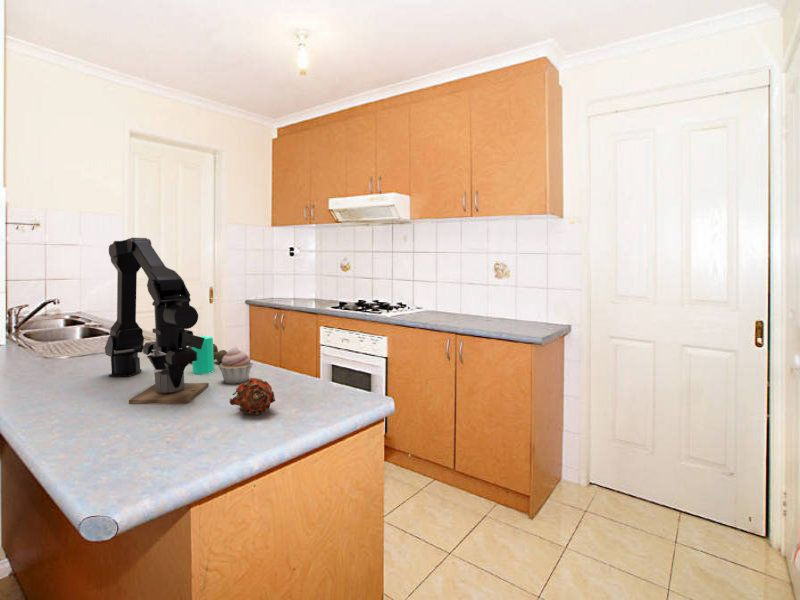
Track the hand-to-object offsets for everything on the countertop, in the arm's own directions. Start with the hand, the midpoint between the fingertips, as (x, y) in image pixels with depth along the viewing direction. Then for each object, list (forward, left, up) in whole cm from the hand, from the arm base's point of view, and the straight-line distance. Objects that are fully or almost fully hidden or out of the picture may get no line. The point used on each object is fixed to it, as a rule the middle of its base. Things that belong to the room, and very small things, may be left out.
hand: (170, 384), depth 118 cm
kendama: (-2, +35, -3) cm, 36 cm away
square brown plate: (0, 0, -3) cm, 3 cm away
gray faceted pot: (0, 0, -1) cm, 1 cm away
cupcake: (+13, +12, -3) cm, 18 cm away
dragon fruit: (+24, -14, -3) cm, 28 cm away
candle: (0, +23, -3) cm, 23 cm away
